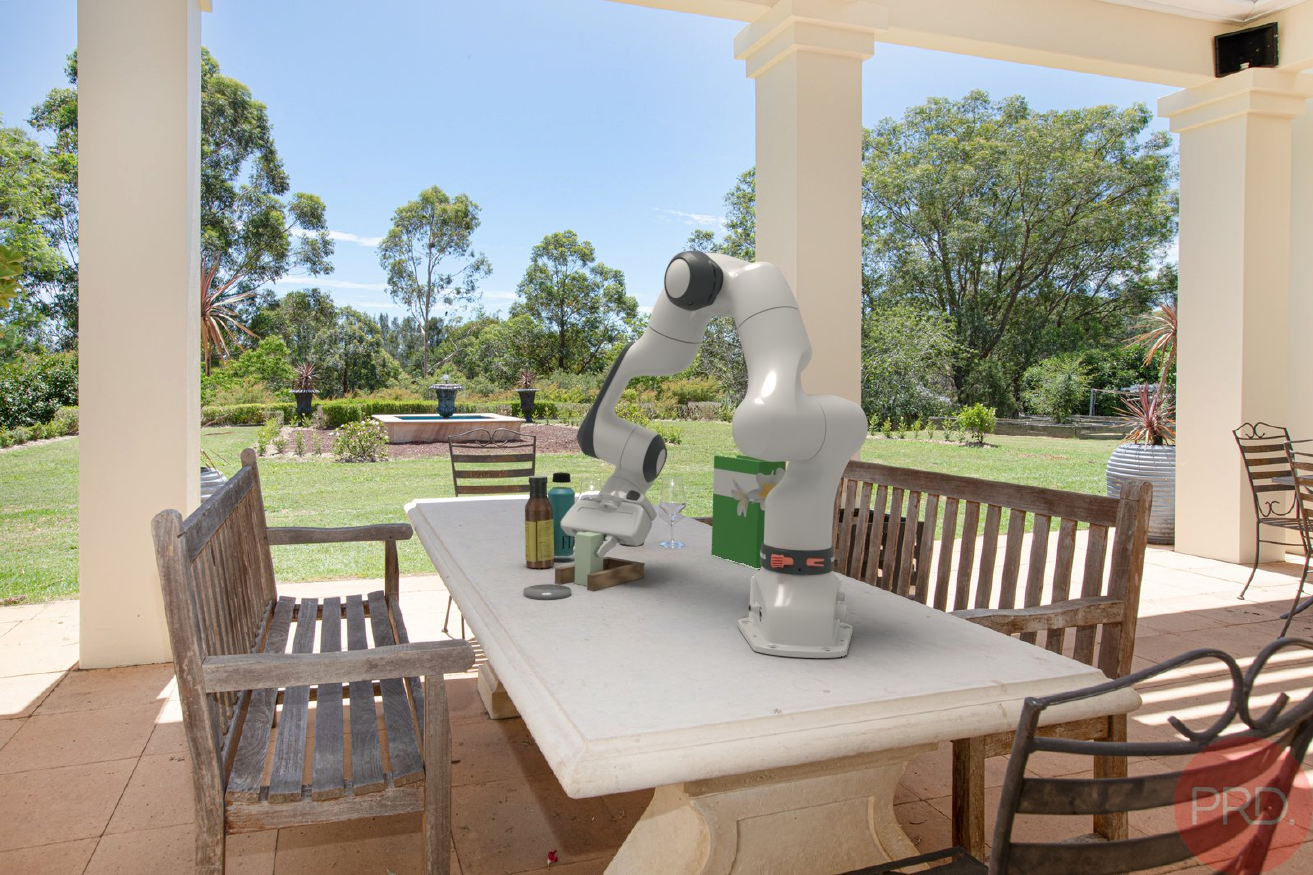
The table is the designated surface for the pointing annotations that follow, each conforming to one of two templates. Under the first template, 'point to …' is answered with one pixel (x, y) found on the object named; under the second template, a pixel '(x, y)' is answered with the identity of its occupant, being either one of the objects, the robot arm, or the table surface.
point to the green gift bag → (728, 528)
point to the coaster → (547, 592)
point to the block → (587, 555)
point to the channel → (604, 573)
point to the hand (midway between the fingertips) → (587, 554)
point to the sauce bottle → (539, 525)
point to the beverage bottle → (561, 514)
